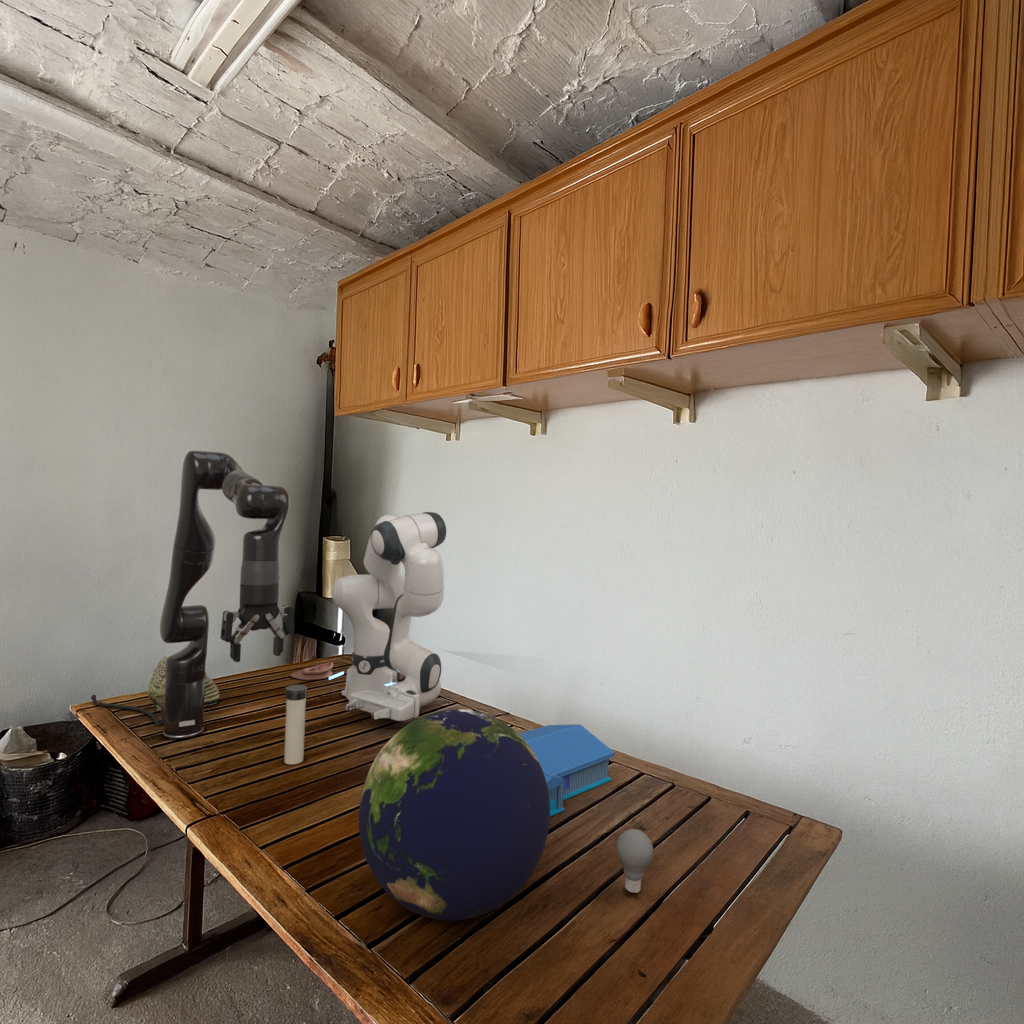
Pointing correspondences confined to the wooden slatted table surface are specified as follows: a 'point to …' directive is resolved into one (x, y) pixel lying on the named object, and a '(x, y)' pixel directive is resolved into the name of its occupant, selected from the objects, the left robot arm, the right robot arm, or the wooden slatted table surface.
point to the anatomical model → (314, 672)
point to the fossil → (158, 687)
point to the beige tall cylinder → (294, 731)
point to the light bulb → (634, 857)
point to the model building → (569, 760)
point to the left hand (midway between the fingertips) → (256, 658)
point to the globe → (454, 815)
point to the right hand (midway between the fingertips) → (360, 712)
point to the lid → (296, 692)
